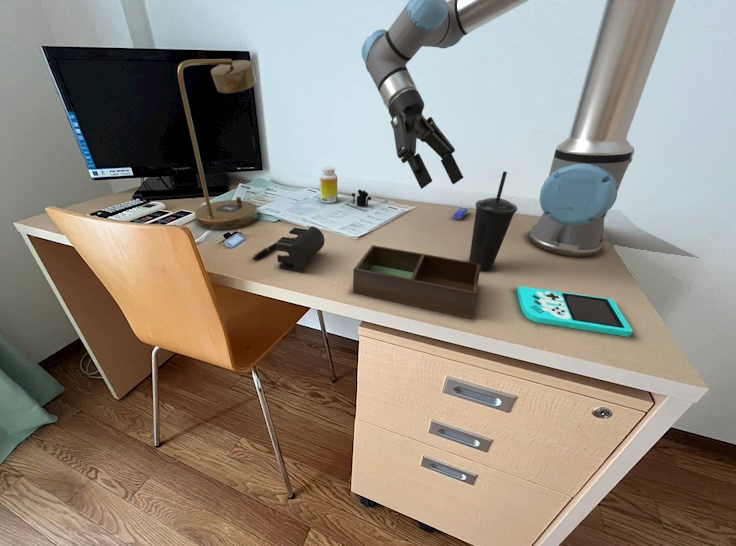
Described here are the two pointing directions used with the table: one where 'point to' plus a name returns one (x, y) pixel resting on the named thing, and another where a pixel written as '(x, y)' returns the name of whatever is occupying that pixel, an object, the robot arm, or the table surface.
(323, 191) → the supplement bottle
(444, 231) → the table surface
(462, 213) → the eraser
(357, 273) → the divided storage box
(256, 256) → the fountain pen
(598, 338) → the table surface
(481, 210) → the drinking cup
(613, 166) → the robot arm
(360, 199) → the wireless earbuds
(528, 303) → the handheld game console
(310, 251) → the end cap
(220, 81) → the lamp
